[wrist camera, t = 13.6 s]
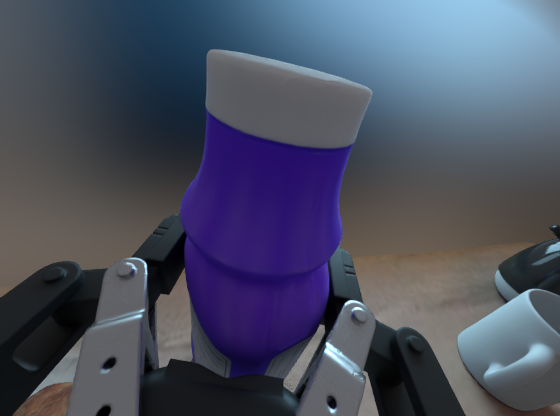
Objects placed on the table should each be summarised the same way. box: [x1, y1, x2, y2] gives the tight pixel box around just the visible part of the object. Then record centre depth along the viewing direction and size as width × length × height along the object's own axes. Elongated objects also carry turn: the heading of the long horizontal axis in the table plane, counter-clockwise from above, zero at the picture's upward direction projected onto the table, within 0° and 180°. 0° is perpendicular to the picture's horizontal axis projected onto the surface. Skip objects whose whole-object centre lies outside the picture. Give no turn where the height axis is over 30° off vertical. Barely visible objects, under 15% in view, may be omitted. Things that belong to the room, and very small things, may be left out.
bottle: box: [180, 49, 372, 381], centre depth 10 cm, size 7×6×17 cm
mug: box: [457, 289, 560, 411], centre depth 23 cm, size 12×8×11 cm
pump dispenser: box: [495, 224, 560, 302], centre depth 33 cm, size 10×10×15 cm
